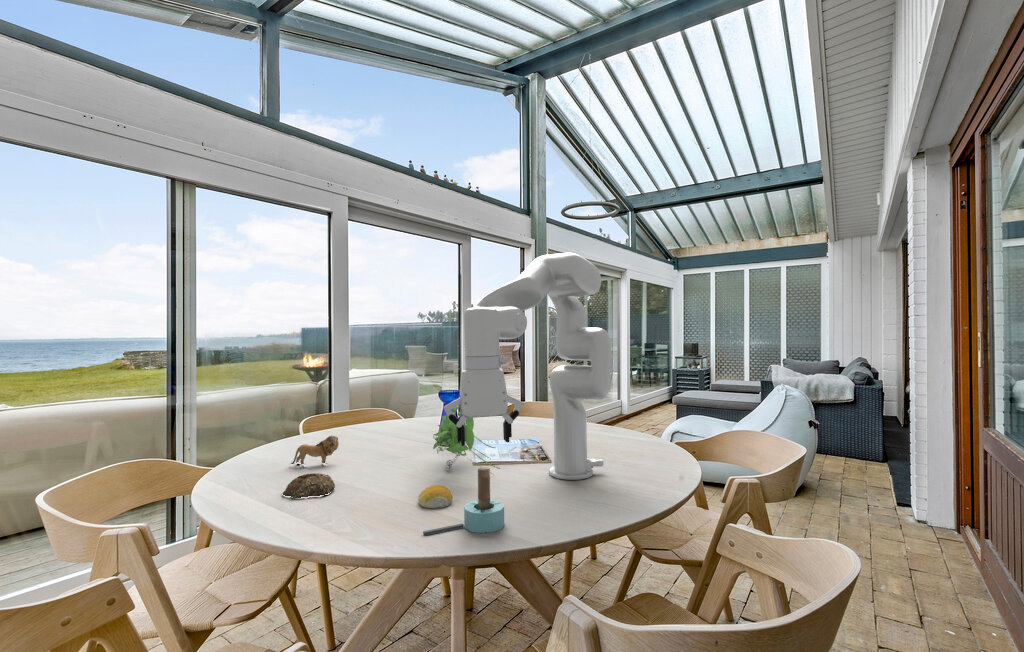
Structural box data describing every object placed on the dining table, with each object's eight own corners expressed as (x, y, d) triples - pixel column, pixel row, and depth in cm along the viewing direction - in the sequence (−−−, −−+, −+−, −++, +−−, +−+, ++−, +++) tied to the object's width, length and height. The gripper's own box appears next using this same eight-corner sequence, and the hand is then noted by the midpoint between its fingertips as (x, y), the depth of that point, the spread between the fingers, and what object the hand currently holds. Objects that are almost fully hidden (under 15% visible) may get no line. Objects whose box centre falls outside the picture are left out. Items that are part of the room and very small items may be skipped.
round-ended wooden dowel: (489, 521, 107) (488, 467, 107) (491, 526, 104) (490, 470, 104) (477, 523, 106) (477, 467, 106) (479, 527, 104) (478, 471, 104)
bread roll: (449, 495, 125) (449, 479, 125) (454, 507, 117) (454, 490, 117) (417, 498, 123) (417, 482, 124) (419, 510, 115) (419, 493, 115)
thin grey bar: (462, 526, 105) (462, 523, 105) (463, 527, 104) (463, 524, 104) (423, 534, 101) (423, 531, 101) (424, 535, 100) (424, 532, 100)
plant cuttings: (477, 474, 166) (424, 436, 165) (506, 433, 167) (454, 395, 166) (478, 512, 131) (411, 464, 130) (516, 460, 132) (449, 412, 131)
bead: (500, 515, 110) (499, 498, 110) (507, 530, 102) (506, 511, 102) (462, 519, 109) (462, 501, 109) (467, 534, 100) (466, 514, 100)
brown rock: (335, 483, 137) (335, 465, 137) (334, 496, 125) (334, 477, 126) (285, 488, 133) (285, 470, 133) (279, 503, 121) (279, 483, 121)
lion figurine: (339, 461, 160) (338, 433, 160) (338, 465, 155) (338, 436, 155) (290, 465, 155) (289, 437, 155) (288, 469, 150) (287, 440, 150)
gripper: (517, 361, 111) (519, 435, 111) (441, 364, 108) (443, 441, 108) (525, 363, 104) (527, 443, 104) (443, 367, 100) (445, 450, 101)
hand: (484, 442), depth 106 cm, fingers open, 9 cm apart
